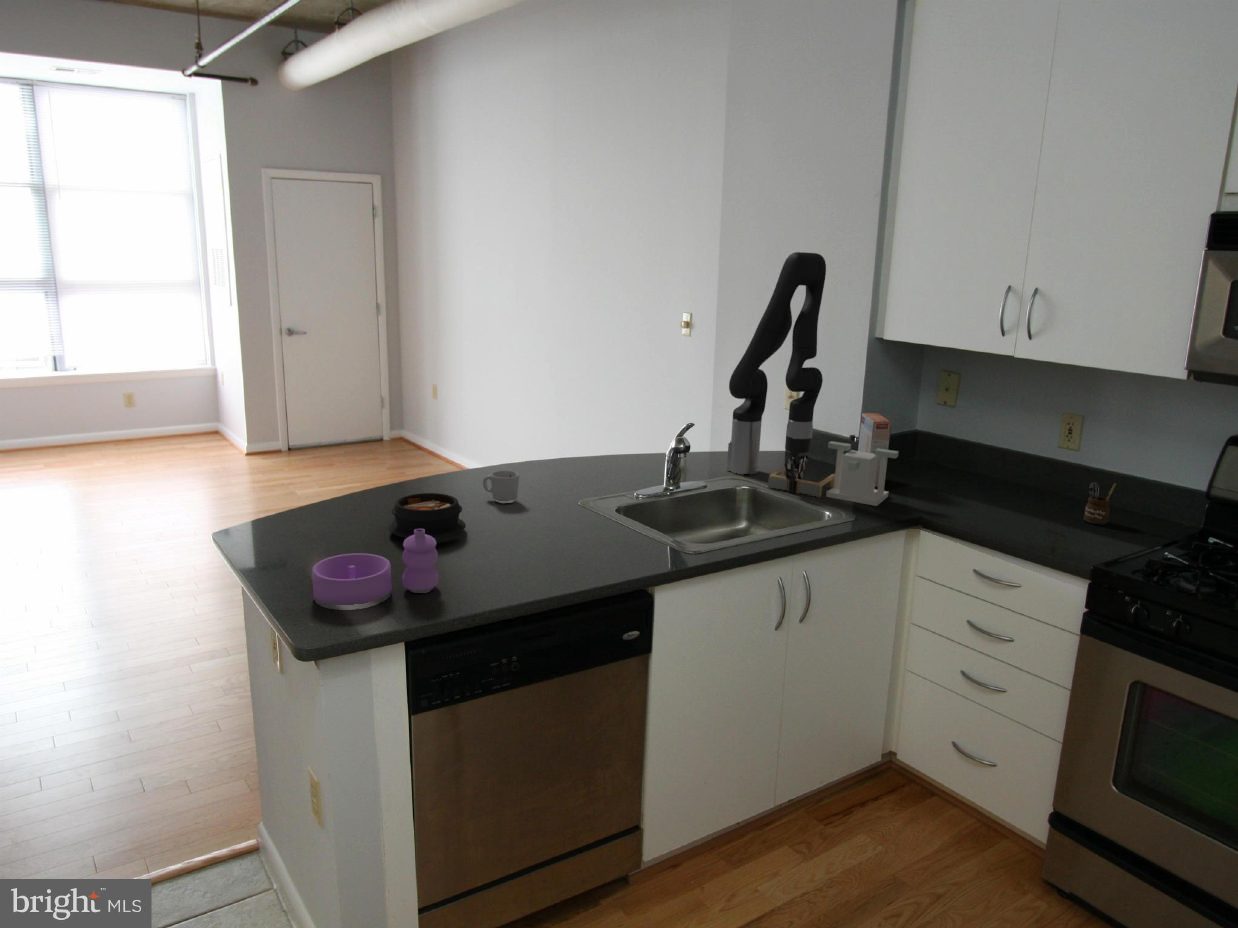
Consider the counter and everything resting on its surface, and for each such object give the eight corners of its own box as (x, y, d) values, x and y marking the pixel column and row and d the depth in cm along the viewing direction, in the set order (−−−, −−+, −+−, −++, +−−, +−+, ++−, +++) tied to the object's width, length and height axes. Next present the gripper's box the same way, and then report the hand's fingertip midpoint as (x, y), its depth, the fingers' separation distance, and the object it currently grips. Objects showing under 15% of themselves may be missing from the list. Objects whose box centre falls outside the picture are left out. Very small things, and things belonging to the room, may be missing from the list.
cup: (476, 502, 247) (476, 474, 245) (490, 494, 254) (490, 467, 252) (510, 507, 243) (510, 479, 241) (524, 500, 250) (524, 472, 248)
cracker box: (884, 488, 274) (892, 421, 269) (865, 487, 274) (872, 421, 269) (873, 476, 288) (880, 412, 283) (854, 475, 288) (861, 412, 283)
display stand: (814, 497, 262) (819, 447, 258) (831, 486, 275) (835, 438, 271) (882, 510, 252) (888, 458, 248) (896, 497, 264) (902, 448, 261)
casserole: (378, 522, 227) (377, 491, 225) (450, 514, 235) (449, 484, 233) (402, 555, 206) (401, 520, 204) (479, 545, 214) (479, 511, 212)
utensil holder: (1087, 517, 252) (1094, 476, 249) (1111, 523, 247) (1119, 481, 244) (1079, 521, 248) (1087, 480, 245) (1104, 527, 243) (1111, 485, 240)
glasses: (767, 488, 270) (768, 475, 269) (785, 478, 282) (786, 465, 281) (818, 497, 262) (819, 484, 261) (834, 486, 274) (835, 474, 273)
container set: (313, 614, 173) (309, 550, 170) (314, 585, 187) (310, 525, 184) (443, 602, 181) (442, 541, 178) (434, 575, 195) (433, 517, 192)
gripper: (795, 429, 271) (791, 483, 275) (778, 437, 259) (773, 494, 263) (819, 432, 267) (814, 487, 271) (802, 440, 255) (797, 498, 260)
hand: (794, 490), depth 267 cm, fingers open, 3 cm apart
